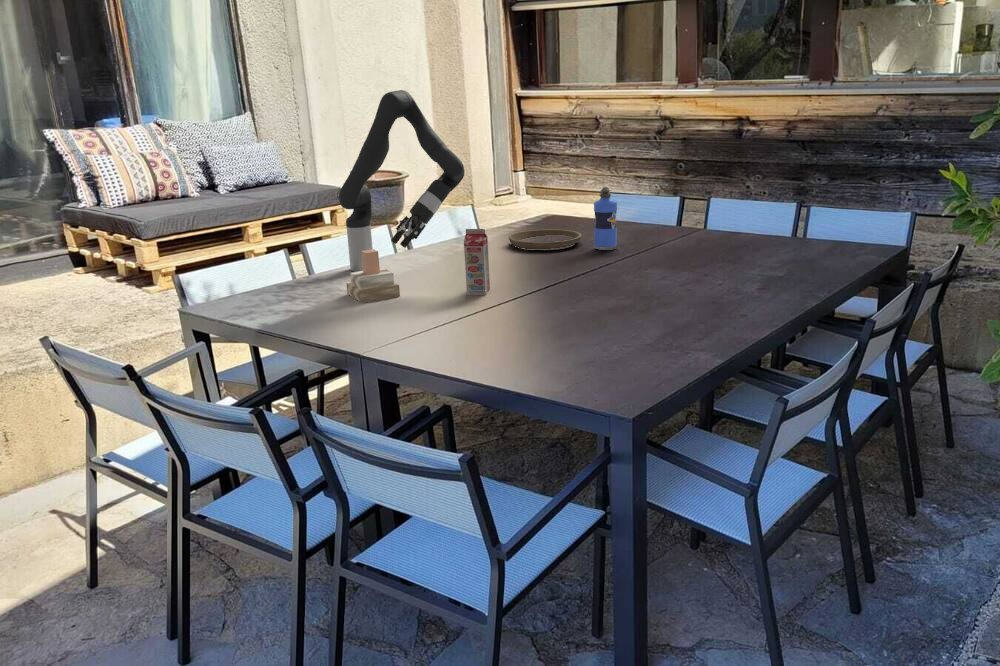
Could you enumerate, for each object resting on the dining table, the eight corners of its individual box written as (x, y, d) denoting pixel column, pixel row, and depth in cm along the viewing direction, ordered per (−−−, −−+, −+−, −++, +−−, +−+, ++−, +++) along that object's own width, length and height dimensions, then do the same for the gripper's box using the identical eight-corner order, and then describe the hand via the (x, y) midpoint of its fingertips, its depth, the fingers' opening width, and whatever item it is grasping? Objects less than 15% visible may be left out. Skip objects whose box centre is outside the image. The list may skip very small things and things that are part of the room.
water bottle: (590, 249, 359) (589, 188, 352) (601, 245, 366) (600, 185, 359) (610, 251, 354) (610, 189, 346) (621, 247, 361) (621, 186, 354)
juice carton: (471, 289, 304) (467, 227, 298) (489, 290, 303) (487, 227, 296) (466, 294, 298) (463, 230, 291) (485, 295, 297) (482, 230, 290)
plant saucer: (545, 235, 394) (544, 225, 392) (597, 243, 372) (596, 233, 370) (493, 247, 374) (493, 236, 373) (545, 256, 352) (545, 245, 351)
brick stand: (347, 294, 305) (345, 272, 303) (384, 288, 311) (383, 266, 309) (361, 302, 293) (359, 279, 291) (400, 296, 300) (398, 273, 297)
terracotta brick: (363, 272, 301) (361, 251, 299) (375, 270, 303) (373, 249, 301) (367, 274, 297) (365, 253, 295) (380, 272, 299) (378, 251, 297)
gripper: (410, 198, 308) (382, 234, 306) (426, 202, 296) (397, 240, 294) (425, 211, 312) (397, 247, 310) (441, 216, 300) (413, 254, 298)
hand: (397, 244), depth 302 cm, fingers open, 8 cm apart
